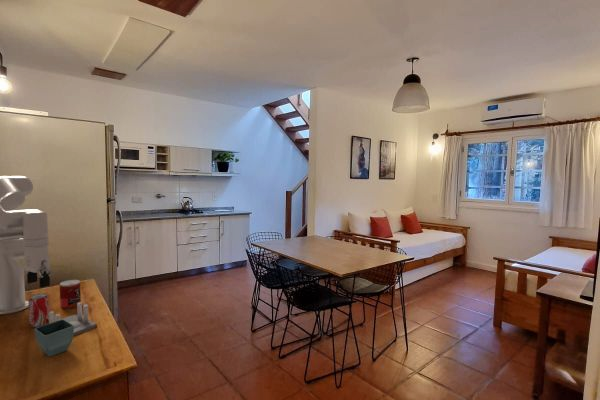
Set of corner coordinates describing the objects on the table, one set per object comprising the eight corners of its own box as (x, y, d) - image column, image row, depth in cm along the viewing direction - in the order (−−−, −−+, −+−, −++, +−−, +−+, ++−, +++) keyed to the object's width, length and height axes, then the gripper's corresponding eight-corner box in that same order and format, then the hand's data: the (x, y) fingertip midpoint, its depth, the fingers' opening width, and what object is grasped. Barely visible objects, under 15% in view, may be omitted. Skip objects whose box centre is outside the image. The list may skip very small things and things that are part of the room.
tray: (38, 330, 124) (37, 309, 123) (74, 317, 135) (74, 298, 135) (60, 341, 116) (59, 319, 116) (97, 326, 128) (96, 306, 127)
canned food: (70, 309, 142) (69, 286, 141) (55, 307, 144) (54, 284, 143) (85, 303, 149) (84, 280, 149) (71, 301, 151) (70, 278, 150)
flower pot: (45, 362, 104) (44, 336, 103) (34, 353, 108) (33, 328, 108) (75, 350, 111) (74, 325, 110) (64, 342, 116) (63, 318, 115)
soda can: (42, 319, 132) (40, 291, 131) (53, 322, 130) (52, 293, 129) (25, 326, 126) (24, 297, 125) (37, 329, 124) (35, 299, 123)
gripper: (14, 241, 126) (16, 283, 127) (36, 246, 118) (38, 291, 119) (36, 238, 133) (38, 278, 134) (58, 242, 125) (60, 285, 126)
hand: (38, 284), depth 127 cm, fingers open, 9 cm apart
